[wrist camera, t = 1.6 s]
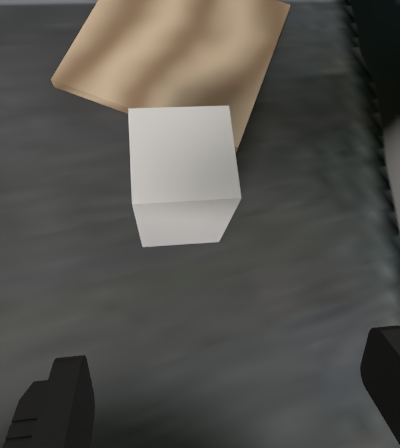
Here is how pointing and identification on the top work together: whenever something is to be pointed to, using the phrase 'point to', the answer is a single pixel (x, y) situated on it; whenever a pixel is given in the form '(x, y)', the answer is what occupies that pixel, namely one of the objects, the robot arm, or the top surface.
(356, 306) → the top surface
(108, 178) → the top surface
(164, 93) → the board
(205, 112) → the light grey rectangular block
